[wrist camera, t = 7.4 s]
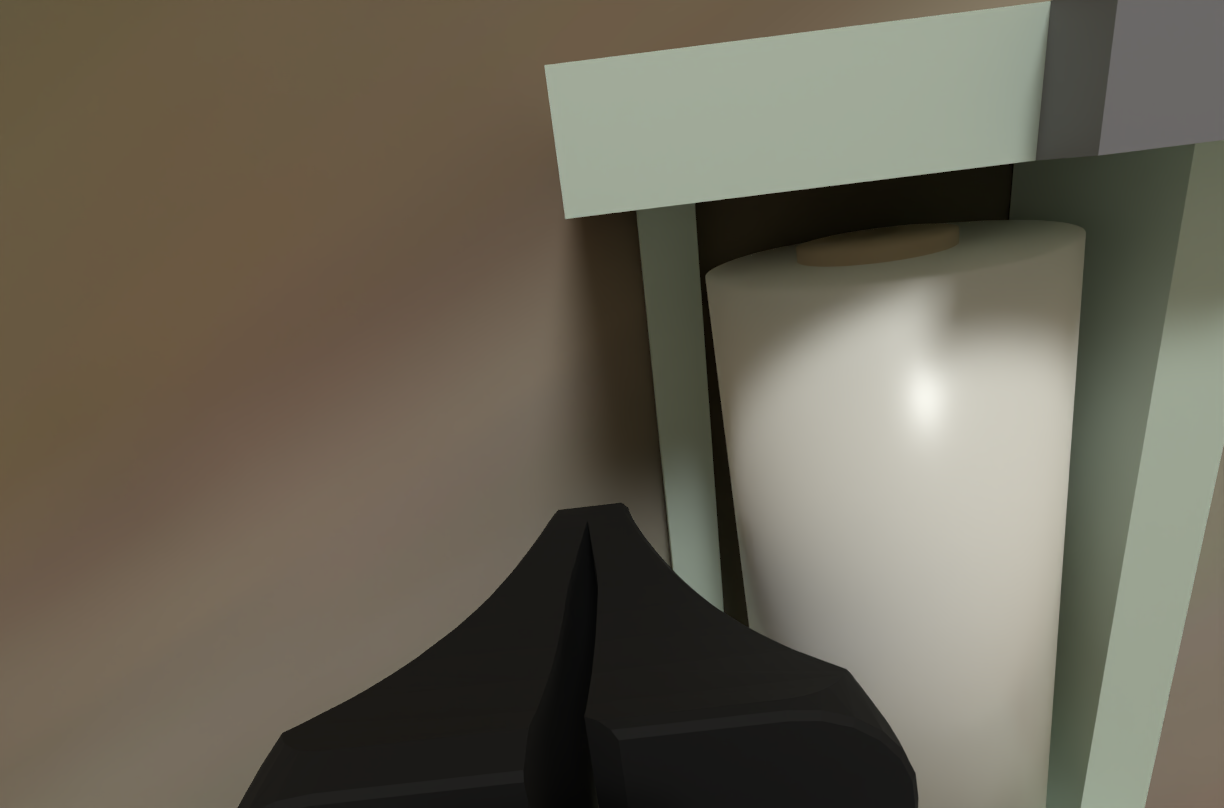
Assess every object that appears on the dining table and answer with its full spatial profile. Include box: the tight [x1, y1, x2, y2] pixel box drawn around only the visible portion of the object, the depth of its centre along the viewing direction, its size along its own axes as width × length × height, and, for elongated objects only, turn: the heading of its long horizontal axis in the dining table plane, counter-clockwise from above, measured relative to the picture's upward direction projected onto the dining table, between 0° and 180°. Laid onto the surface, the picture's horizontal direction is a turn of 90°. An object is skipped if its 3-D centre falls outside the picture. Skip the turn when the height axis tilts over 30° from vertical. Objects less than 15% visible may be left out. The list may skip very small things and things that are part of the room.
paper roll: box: [705, 220, 1086, 808], centre depth 11 cm, size 10×5×5 cm
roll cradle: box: [544, 0, 1224, 808], centre depth 10 cm, size 15×9×7 cm, turn 7°
